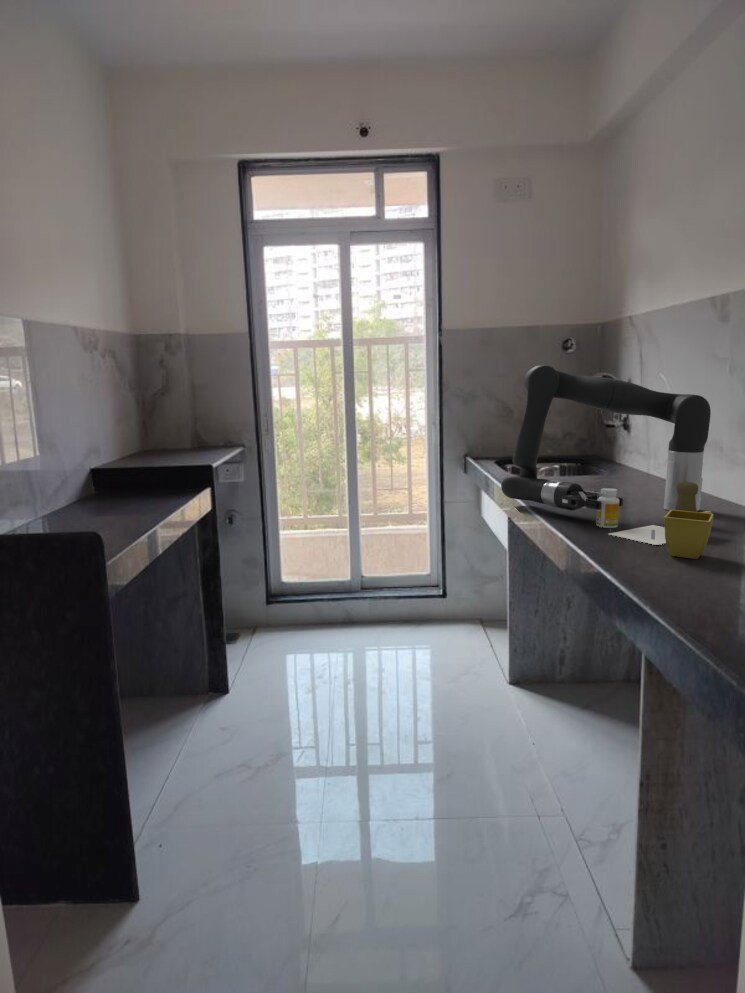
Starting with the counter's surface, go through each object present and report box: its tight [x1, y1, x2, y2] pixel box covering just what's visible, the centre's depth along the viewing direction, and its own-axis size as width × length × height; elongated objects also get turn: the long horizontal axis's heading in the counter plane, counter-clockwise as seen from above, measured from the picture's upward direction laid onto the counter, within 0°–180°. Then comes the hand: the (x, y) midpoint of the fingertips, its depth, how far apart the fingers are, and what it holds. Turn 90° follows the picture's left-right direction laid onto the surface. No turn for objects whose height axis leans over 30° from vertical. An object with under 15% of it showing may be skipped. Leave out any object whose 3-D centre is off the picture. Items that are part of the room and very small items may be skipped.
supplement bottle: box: [595, 487, 620, 529], centre depth 169 cm, size 5×5×10 cm
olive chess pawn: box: [675, 482, 698, 512], centre depth 172 cm, size 6×6×11 cm
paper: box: [607, 524, 666, 546], centre depth 160 cm, size 18×13×1 cm
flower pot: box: [663, 510, 715, 560], centre depth 141 cm, size 9×9×9 cm
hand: (611, 503), depth 168 cm, fingers open, 8 cm apart
